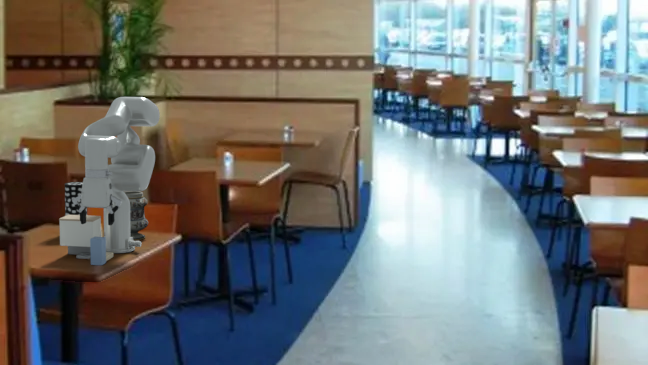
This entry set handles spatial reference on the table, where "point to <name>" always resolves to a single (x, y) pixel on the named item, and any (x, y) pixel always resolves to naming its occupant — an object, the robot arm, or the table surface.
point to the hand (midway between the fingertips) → (97, 224)
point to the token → (84, 256)
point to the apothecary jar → (137, 213)
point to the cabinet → (79, 232)
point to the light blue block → (99, 251)
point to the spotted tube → (72, 197)
